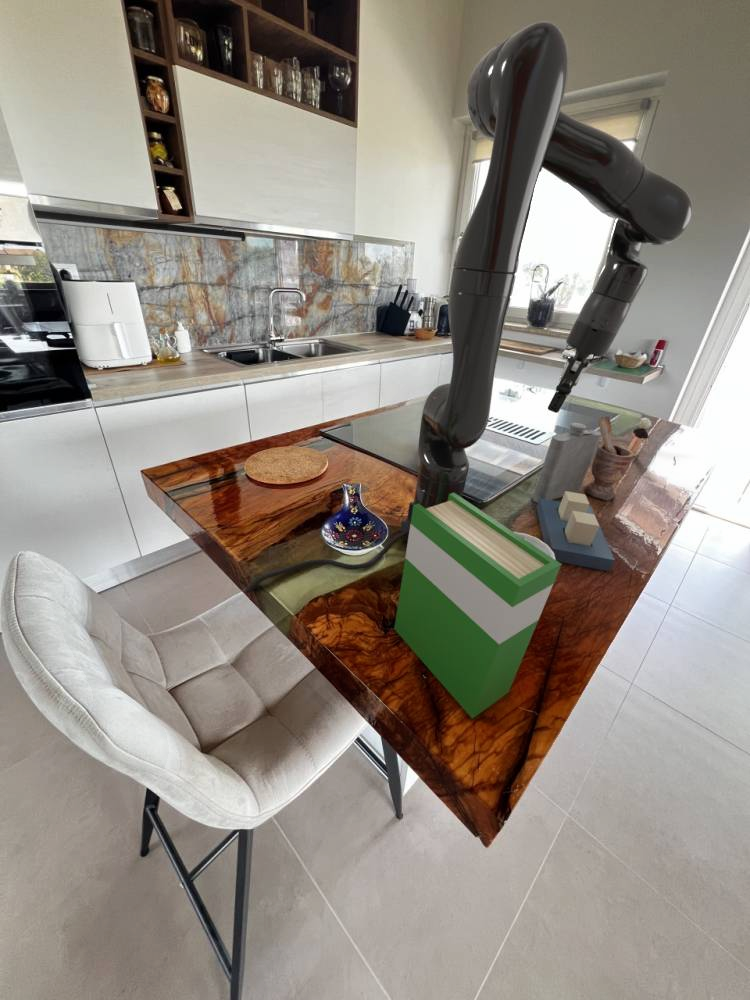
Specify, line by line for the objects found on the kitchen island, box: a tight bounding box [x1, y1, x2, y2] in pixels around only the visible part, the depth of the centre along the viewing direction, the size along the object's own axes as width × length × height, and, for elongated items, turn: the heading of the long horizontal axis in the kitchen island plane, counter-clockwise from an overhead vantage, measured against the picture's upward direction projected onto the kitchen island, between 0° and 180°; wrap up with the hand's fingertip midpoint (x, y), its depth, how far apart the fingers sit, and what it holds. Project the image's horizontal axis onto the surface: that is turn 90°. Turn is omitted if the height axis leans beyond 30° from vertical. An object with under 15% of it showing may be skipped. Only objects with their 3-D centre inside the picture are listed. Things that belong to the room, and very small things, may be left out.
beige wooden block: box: [558, 491, 590, 521], centre depth 96 cm, size 4×4×8 cm
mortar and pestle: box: [584, 415, 635, 501], centre depth 110 cm, size 12×9×20 cm
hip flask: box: [532, 422, 602, 504], centre depth 106 cm, size 16×4×20 cm, turn 118°
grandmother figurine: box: [627, 417, 652, 457], centre depth 137 cm, size 8×4×13 cm, turn 17°
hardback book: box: [393, 493, 563, 719], centre depth 57 cm, size 18×7×24 cm, turn 34°
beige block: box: [564, 511, 600, 546], centre depth 89 cm, size 4×4×8 cm
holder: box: [536, 498, 616, 572], centre depth 94 cm, size 12×21×3 cm, turn 168°
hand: (555, 405), depth 84 cm, fingers open, 8 cm apart
